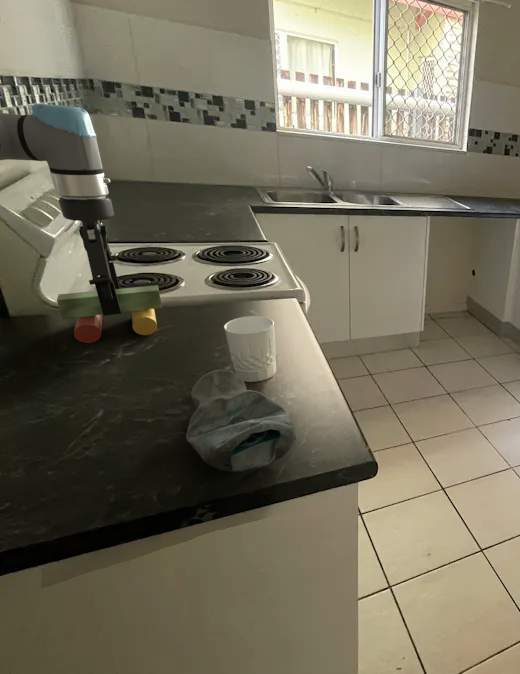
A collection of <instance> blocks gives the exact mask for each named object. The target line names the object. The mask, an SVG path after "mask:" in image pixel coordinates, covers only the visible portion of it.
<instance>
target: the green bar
mask: <svg viewBox="0 0 520 674" xmlns="http://www.w3.org/2000/svg"><path fill="white" fill-rule="evenodd" d="M115 290H116V294H117V298H118V302H119V306H120V310H121V313H129V312H132V311H139V310H148V309H154V310H155V309H162V308H163V304H162V303H163V302H162V298H161V294H160V290H159V285H158V284H157V285H146V286H136V287H123V288H120V289H115ZM56 302H57V305H58V308H59V309H58V310H59V312H60V314H61V318H62V320H67V319H69V320H70V319H76V318H78V317H86V316H95V315H102V316H103V312H102V308H101V305H100V301H99V298H98V294H97V290H92V291H81V292H70V293H69V292H68V293H59V294H58V295H57V298H56Z"/></svg>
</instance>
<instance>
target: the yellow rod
mask: <svg viewBox="0 0 520 674" xmlns="http://www.w3.org/2000/svg"><path fill="white" fill-rule="evenodd" d="M131 320H132V322H131V323H132V324H131V325H132V330H133V332H135V333H136V334H137V335H140V336H150V335H152V334H153V333H155V332H156V331H157V330H158V329H157V328H158V323H157V318H156V312H155V309H148V310H139V311H131Z"/></svg>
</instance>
